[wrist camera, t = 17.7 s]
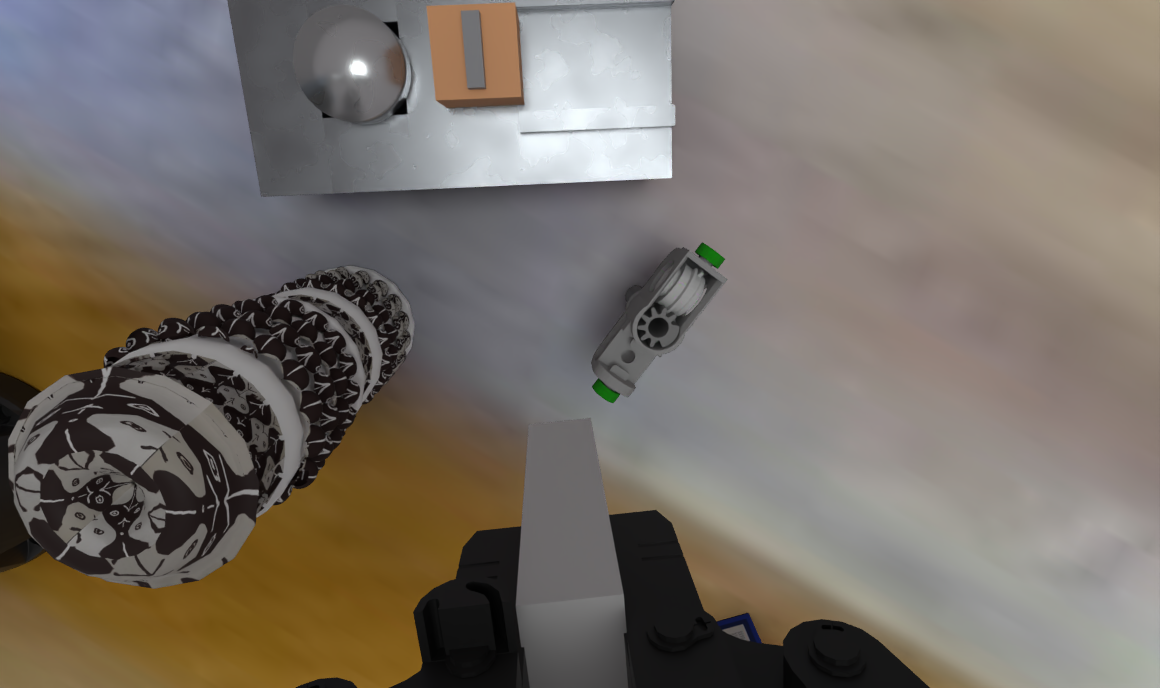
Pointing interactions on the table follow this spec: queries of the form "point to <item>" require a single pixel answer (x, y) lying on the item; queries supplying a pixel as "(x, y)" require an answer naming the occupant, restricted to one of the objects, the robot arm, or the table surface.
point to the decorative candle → (202, 426)
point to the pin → (352, 65)
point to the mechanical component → (655, 319)
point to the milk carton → (740, 628)
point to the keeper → (476, 54)
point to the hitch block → (469, 134)
